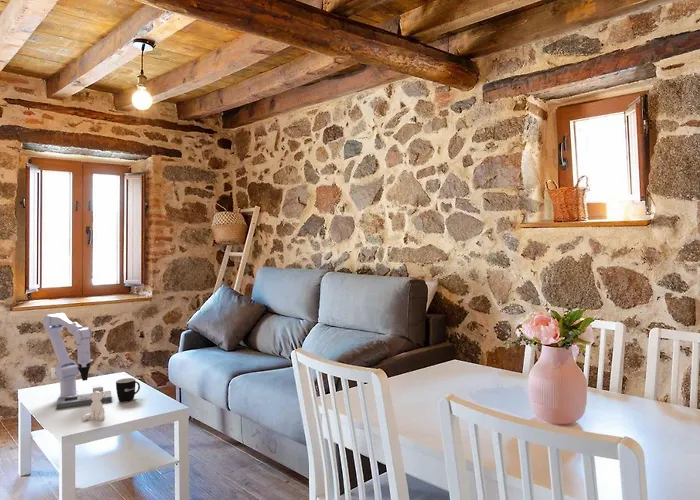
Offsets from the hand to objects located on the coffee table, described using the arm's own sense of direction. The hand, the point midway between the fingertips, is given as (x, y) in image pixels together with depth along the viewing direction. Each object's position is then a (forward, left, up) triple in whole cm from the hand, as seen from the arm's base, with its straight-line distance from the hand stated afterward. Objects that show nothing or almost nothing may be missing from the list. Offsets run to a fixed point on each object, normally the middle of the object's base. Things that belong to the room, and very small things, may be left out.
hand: (85, 378), depth 267 cm
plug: (+6, +5, -11) cm, 13 cm away
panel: (+6, 0, -10) cm, 12 cm away
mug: (+13, +20, -11) cm, 26 cm away
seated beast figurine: (+36, +5, -11) cm, 38 cm away
